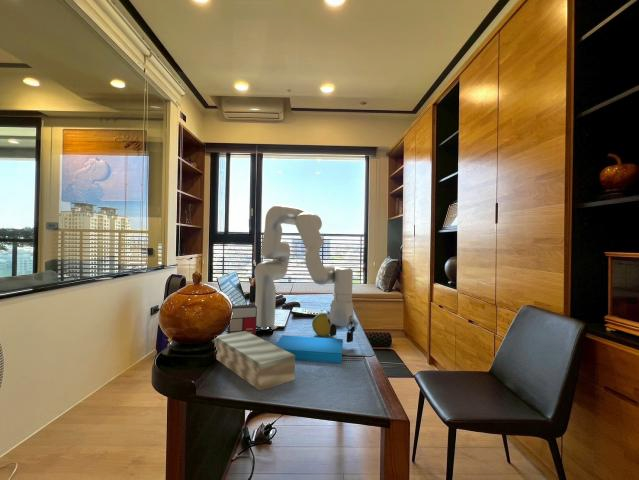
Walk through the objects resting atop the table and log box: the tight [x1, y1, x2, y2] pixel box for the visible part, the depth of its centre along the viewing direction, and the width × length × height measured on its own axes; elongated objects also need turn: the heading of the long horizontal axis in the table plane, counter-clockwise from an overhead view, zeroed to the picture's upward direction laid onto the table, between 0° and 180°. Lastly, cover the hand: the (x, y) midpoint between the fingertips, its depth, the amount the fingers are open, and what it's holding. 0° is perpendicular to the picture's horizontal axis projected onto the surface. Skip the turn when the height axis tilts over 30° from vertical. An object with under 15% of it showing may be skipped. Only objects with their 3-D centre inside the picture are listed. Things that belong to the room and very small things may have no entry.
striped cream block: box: [214, 331, 296, 391], centre depth 104 cm, size 31×12×8 cm, turn 41°
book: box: [274, 334, 344, 364], centre depth 121 cm, size 17×4×25 cm
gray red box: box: [226, 304, 257, 336], centre depth 128 cm, size 11×4×15 cm, turn 114°
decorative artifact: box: [311, 312, 331, 337], centre depth 145 cm, size 10×7×10 cm
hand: (341, 338), depth 132 cm, fingers open, 9 cm apart
